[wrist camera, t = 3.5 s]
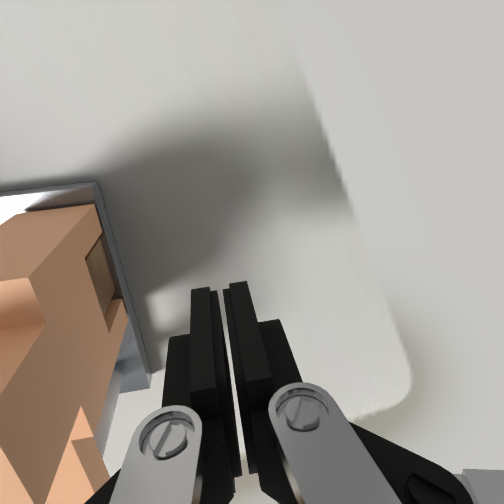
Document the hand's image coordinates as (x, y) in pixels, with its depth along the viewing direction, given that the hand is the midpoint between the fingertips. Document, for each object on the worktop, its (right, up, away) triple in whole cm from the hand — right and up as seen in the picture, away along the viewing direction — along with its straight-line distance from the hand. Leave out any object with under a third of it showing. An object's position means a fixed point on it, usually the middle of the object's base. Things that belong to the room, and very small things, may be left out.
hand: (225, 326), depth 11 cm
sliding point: (-6, -1, +5) cm, 9 cm away
